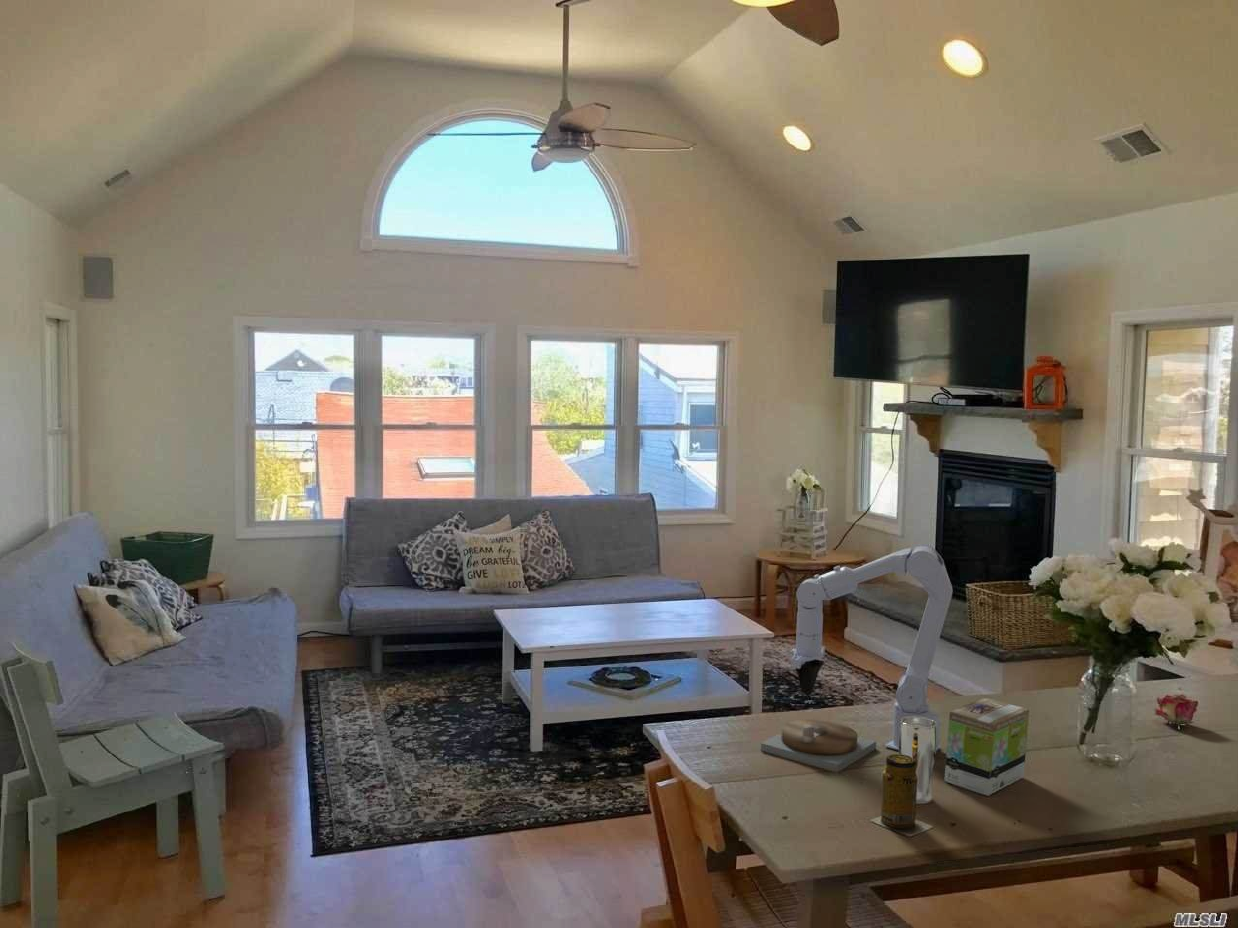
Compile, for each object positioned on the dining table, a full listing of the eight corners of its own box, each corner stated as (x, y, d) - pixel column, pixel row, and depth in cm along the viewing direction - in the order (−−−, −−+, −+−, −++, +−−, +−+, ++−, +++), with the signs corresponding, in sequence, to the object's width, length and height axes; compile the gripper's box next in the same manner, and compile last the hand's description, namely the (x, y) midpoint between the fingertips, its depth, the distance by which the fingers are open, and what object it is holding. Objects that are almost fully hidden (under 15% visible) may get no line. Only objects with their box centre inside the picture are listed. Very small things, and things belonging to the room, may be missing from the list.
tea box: (990, 798, 199) (995, 723, 197) (942, 782, 206) (946, 710, 205) (1025, 778, 209) (1030, 707, 208) (979, 763, 216) (983, 695, 215)
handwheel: (798, 723, 233) (799, 701, 232) (867, 738, 224) (868, 715, 224) (769, 744, 219) (770, 721, 219) (841, 760, 211) (842, 736, 210)
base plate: (875, 748, 223) (876, 741, 223) (837, 772, 209) (837, 764, 209) (802, 729, 235) (802, 721, 235) (760, 750, 221) (761, 742, 221)
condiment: (893, 811, 192) (897, 748, 191) (933, 827, 185) (936, 762, 184) (869, 821, 187) (872, 757, 186) (909, 838, 181) (912, 772, 179)
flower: (1209, 728, 236) (1205, 695, 240) (1170, 719, 236) (1167, 686, 240) (1183, 739, 245) (1181, 707, 249) (1146, 730, 245) (1144, 698, 248)
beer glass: (928, 808, 193) (932, 730, 192) (891, 799, 197) (895, 722, 196) (938, 795, 199) (942, 720, 198) (902, 787, 203) (906, 713, 201)
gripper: (805, 623, 238) (803, 681, 240) (779, 636, 226) (776, 697, 227) (834, 628, 234) (832, 687, 236) (809, 641, 222) (806, 703, 224)
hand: (806, 692), depth 231 cm, fingers closed
